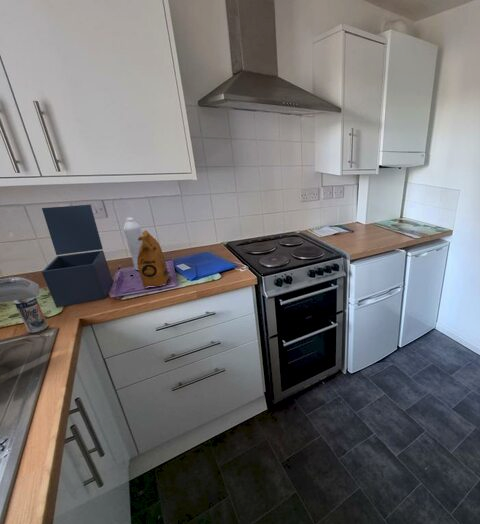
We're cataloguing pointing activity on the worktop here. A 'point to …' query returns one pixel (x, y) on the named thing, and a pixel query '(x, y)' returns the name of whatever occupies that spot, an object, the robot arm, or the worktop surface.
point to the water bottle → (133, 238)
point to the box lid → (72, 229)
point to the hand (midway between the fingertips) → (2, 303)
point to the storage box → (78, 278)
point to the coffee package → (151, 262)
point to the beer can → (32, 315)
